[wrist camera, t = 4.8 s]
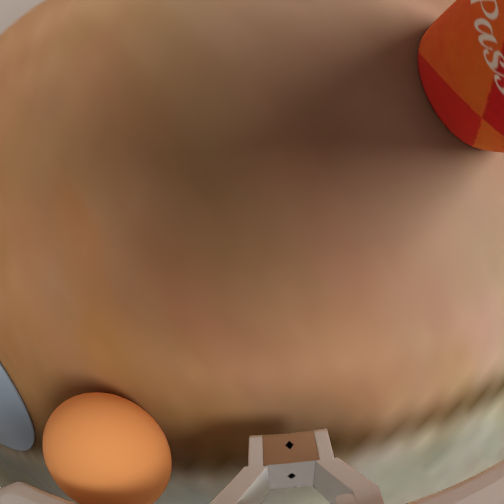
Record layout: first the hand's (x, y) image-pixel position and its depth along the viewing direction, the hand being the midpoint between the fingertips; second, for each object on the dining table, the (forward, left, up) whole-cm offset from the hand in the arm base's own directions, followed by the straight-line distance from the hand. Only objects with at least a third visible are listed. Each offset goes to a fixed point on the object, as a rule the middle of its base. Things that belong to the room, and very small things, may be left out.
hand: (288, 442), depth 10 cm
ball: (0, +7, +1) cm, 7 cm away
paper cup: (+13, -9, -2) cm, 16 cm away
